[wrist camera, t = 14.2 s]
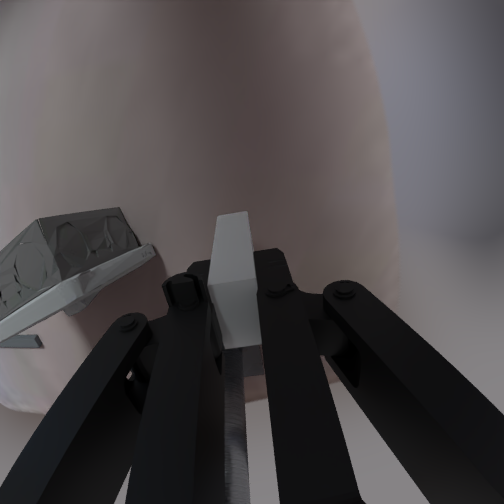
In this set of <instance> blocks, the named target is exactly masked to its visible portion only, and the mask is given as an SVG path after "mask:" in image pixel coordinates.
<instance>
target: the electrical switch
mask: <svg viewBox="0 0 504 504" xmlns="http://www.w3.org/2000/svg"><path fill="white" fill-rule="evenodd" d="M39 221H40V224H41V227H42V229H41V227H40V224H39ZM39 221H38V219H37V220H35V221H34V222H33V223H31V224H30V225H29V226H28V227H27V228H26V229H24V230H23V231H22V232H21V233H20V234H19V235H18V236H16V237H15V238H14V239H13V240H12V241H11V242H10V243H9V244H8V245H7V246H6V247H5V248H3V249H2V250H1V251H0V344H1V343H2V342H4V341H6V340H8V339H10V338H12V337H14V336H15V335H17V334H19V333H21V332H23V331H25V330H26V329H28V328H30V327H32V326H34V325H36V324H37V323H40V322H41V321H43V320H45V319H47V318H49V317H51V316H52V315H54V314H56V313H58V312H60V311H61V310H64V312H65V313H66V314H67V315H68V316H71V315H74V314H76V313H79V312H80V311H82V310H83V309H84V308H86V307H87V306H88V305H89V303H90V302H91V301H92V300H93V299H94V297H95V296H96V295H97V294H98V293H99V292H100V290H101V289H102V288H104V287H106V286H107V285H109V284H111V283H112V282H114V281H116V280H117V279H119V278H121V277H122V276H124V275H126V274H128V273H129V272H131V271H133V270H135V269H136V268H138V267H140V266H141V265H143V264H144V263H146V262H147V261H148V260H150V259H151V258H152V257H154V256H155V255H156V254H155V252H154V249H153V247H152V244H151V243H148V244H146V245H143V246H141V247H139V246H138V244H137V241H136V239H135V237H134V235H133V232H132V231H131V229H130V228H129V227H128V225H127V224H126V221H125V219H124V217H123V215H122V212H121V210H120V208H119V207H117V208H109V209H101V210H94V211H86V212H79V213H72V214H65V215H59V216H52V217H46V218H40V219H39ZM69 224H70V225H69ZM42 230H43V232H42ZM43 233H44V235H43ZM44 236H45V237H44ZM45 239H46V240H45ZM46 242H47V243H46ZM20 243H23V244H20Z"/></svg>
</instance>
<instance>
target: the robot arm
mask: <svg viewBox="0 0 504 504" xmlns="http://www.w3.org/2000/svg"><path fill="white" fill-rule="evenodd" d="M162 288H163V291H164V294H165V297H166V300H167V302H168V305H169V309H168V313H167V315H166V316H163V317H161V318H158V319H155V320H152V321H149V322H148V320H147V318H146V316H145V315H143V314H141V313H129V314H126V315H123V316H122V317H120V318H118V319H117V320H116V321H115V322H114V323H113V324H112V325H111V326H110V328H109V329H108V330H107V331H106V333H105V334H104V335H103V337H102V338H101V339H100V341H99V342H98V343H97V344H96V346H95V347H94V348H93V350H92V351H91V352H90V354H89V355H88V356H87V358H86V359H85V360H84V362H83V363H82V364H81V366H80V367H79V369H78V370H77V371H76V373H75V374H74V375H73V377H72V378H71V380H70V381H69V382H68V384H67V385H66V387H65V388H64V389H63V391H62V392H61V394H60V395H59V396H58V398H57V399H56V401H55V402H54V404H53V405H52V407H51V408H50V409H49V411H48V412H47V414H46V416H45V417H44V418H43V420H42V421H41V423H40V424H39V426H38V427H37V429H36V430H35V432H34V433H33V435H32V436H31V438H30V440H29V441H28V443H27V444H26V446H25V447H24V449H23V450H22V452H21V454H20V455H19V457H18V459H17V460H16V462H15V463H14V465H13V467H12V468H11V470H10V472H9V473H8V475H7V477H6V479H5V480H4V482H3V484H2V486H1V487H0V504H114V502H115V500H116V498H117V495H118V493H119V491H120V489H121V487H122V485H123V482H124V480H125V478H126V476H127V474H128V472H129V469H130V467H131V472H130V477H129V483H128V489H127V495H126V502H125V504H225V357H224V354H223V350H222V340H223V344H224V347H225V349H230V348H238V347H245V346H252V345H259V344H262V349H263V358H264V367H265V376H266V385H267V394H268V402H269V411H270V420H271V428H272V437H273V446H274V456H275V464H276V473H277V482H278V491H279V500H280V504H366V503H365V502H364V501H363V500H362V498H361V496H360V493H359V490H358V486H357V482H356V479H355V475H354V471H353V467H352V464H351V460H350V456H349V453H348V449H347V446H346V442H345V438H344V435H343V431H342V428H341V424H340V421H339V418H338V414H337V411H336V407H335V404H334V400H333V397H332V394H331V390H330V387H329V384H328V380H327V377H326V374H325V371H324V367H323V364H322V361H321V358H320V355H324V356H325V359H326V361H327V362H328V364H329V365H330V366H331V368H332V369H333V371H334V372H335V373H336V375H337V376H338V377H339V379H340V380H341V382H342V383H343V384H344V386H345V387H346V389H347V390H348V391H349V393H350V394H351V395H352V397H353V398H354V400H355V401H356V402H357V404H358V405H359V407H360V408H361V409H362V410H363V412H364V413H365V415H366V416H367V418H368V419H369V420H370V422H371V423H372V424H373V426H374V427H375V429H376V430H377V431H378V433H379V434H380V436H381V437H382V438H383V440H384V441H385V442H386V444H387V445H388V447H389V448H390V449H391V451H392V452H393V453H394V455H395V456H396V457H397V459H398V460H399V462H400V463H401V464H402V466H403V467H404V468H405V470H406V471H407V473H408V474H409V475H410V477H411V478H412V479H413V481H414V482H415V484H416V485H417V486H418V488H419V489H420V490H421V492H422V493H423V495H424V496H425V497H426V499H427V500H428V501H429V503H430V504H504V415H503V414H502V413H501V412H500V411H499V410H498V409H497V408H496V407H495V406H494V405H493V404H492V403H491V402H490V401H489V400H488V399H487V398H486V397H485V396H484V395H483V394H482V393H481V392H480V391H479V390H478V389H477V388H476V387H475V386H474V385H473V384H472V383H471V382H469V381H468V380H467V379H466V378H465V377H464V376H463V375H462V374H461V373H460V372H459V371H458V370H457V369H456V368H455V367H454V366H453V365H452V364H451V363H449V362H448V361H447V360H446V359H445V358H444V357H443V356H442V355H441V354H440V353H439V352H438V351H436V350H435V349H434V348H433V347H432V346H431V345H430V344H429V343H428V342H427V341H425V340H424V339H423V338H422V337H421V336H420V335H419V334H418V333H416V332H415V331H414V330H413V329H412V328H411V327H410V326H409V325H408V324H406V323H405V322H404V321H403V320H402V319H401V318H400V317H398V316H397V315H396V314H395V313H394V312H393V311H392V310H390V309H389V308H388V307H387V306H386V305H385V304H384V303H382V302H381V301H380V300H379V299H378V298H377V297H375V296H374V295H373V294H372V293H371V292H370V291H368V290H367V289H366V288H365V287H364V286H362V285H361V284H359V283H357V282H354V281H350V280H341V281H336V282H333V283H331V284H329V285H327V286H326V287H325V289H324V291H323V294H311V293H306V292H302V291H300V290H299V289H298V287H297V286H296V284H295V283H293V280H292V277H291V274H290V271H289V268H288V265H287V262H286V259H285V256H284V253H283V252H282V251H280V250H279V249H277V248H273V249H267V250H261V251H255V252H254V248H253V242H252V236H251V230H250V224H249V218H248V212H247V211H243V212H237V213H231V214H225V215H220V216H217V223H216V229H215V236H214V242H213V249H212V256H211V260H205V261H198V262H194V263H193V264H192V265H191V266H190V267H189V268H188V269H187V272H184V273H180V274H176V275H174V276H172V277H170V278H169V279H167V280H166V281H165V282H164V283H163V285H162ZM129 371H131V372H132V375H131V377H130V378H129V379H127V378H126V376H127V375H128V373H129ZM131 465H132V466H131Z"/></svg>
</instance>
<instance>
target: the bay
mask: <svg viewBox="0 0 504 504" xmlns="http://www.w3.org/2000/svg"><path fill="white" fill-rule="evenodd" d="M41 344H42V343H41V341H40V339H39V338H38V336H37V335H15V336H14V337H12V338H10V339H8V340H6V341H4V342H2V343H1V344H0V347H30V348H39V347H40V346H41Z"/></svg>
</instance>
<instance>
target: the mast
mask: <svg viewBox="0 0 504 504" xmlns="http://www.w3.org/2000/svg"><path fill="white" fill-rule="evenodd" d="M222 350H223V354H224V357H225V504H250V489H249V473H248V455H247V438H246V437H247V436H246V417H245V396H244V377H247V376H254V375H261V374H264V369H263V363H262V357H261V352H260V347H259V345H252V346H245V347H238V348H230V349H225V347H224V344H223V340H222Z"/></svg>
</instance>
